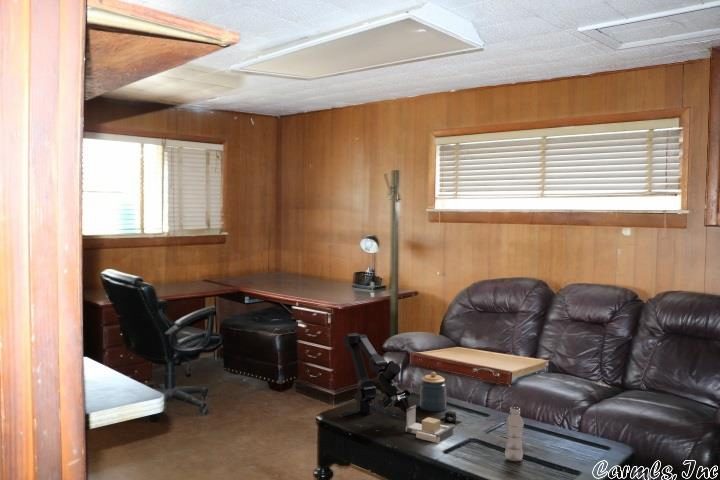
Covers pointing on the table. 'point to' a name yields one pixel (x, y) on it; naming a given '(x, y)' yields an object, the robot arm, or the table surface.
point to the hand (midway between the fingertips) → (409, 414)
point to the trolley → (427, 424)
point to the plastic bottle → (514, 435)
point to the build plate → (449, 420)
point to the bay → (439, 436)
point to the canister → (433, 393)
